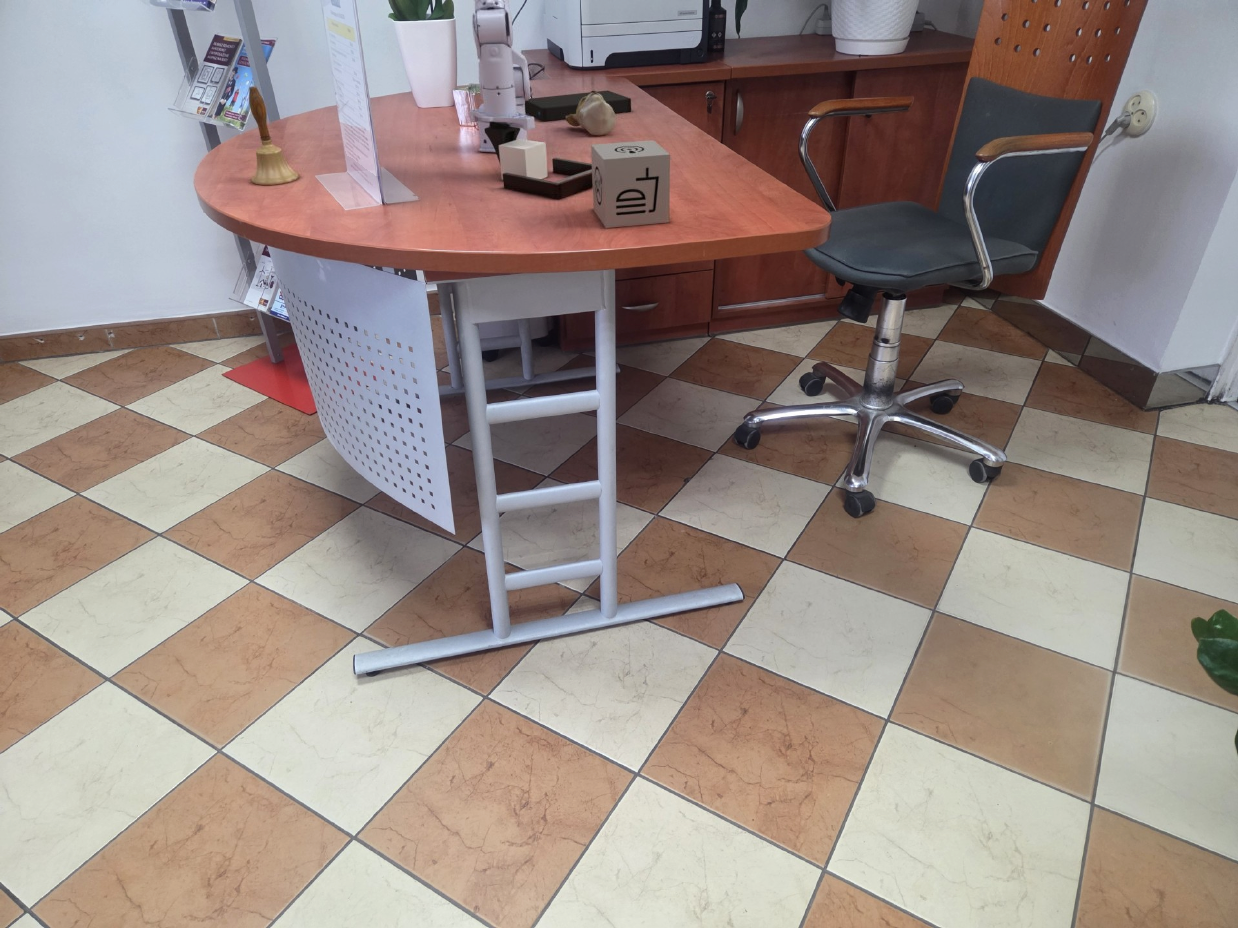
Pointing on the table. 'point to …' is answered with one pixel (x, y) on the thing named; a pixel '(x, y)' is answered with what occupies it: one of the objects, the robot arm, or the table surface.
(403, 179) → the table surface
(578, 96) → the external hard drive
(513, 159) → the white cube
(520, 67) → the robot arm
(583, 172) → the frame
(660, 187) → the icon cube
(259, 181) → the hand bell
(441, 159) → the table surface
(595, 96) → the ceramic sculpture
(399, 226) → the table surface
